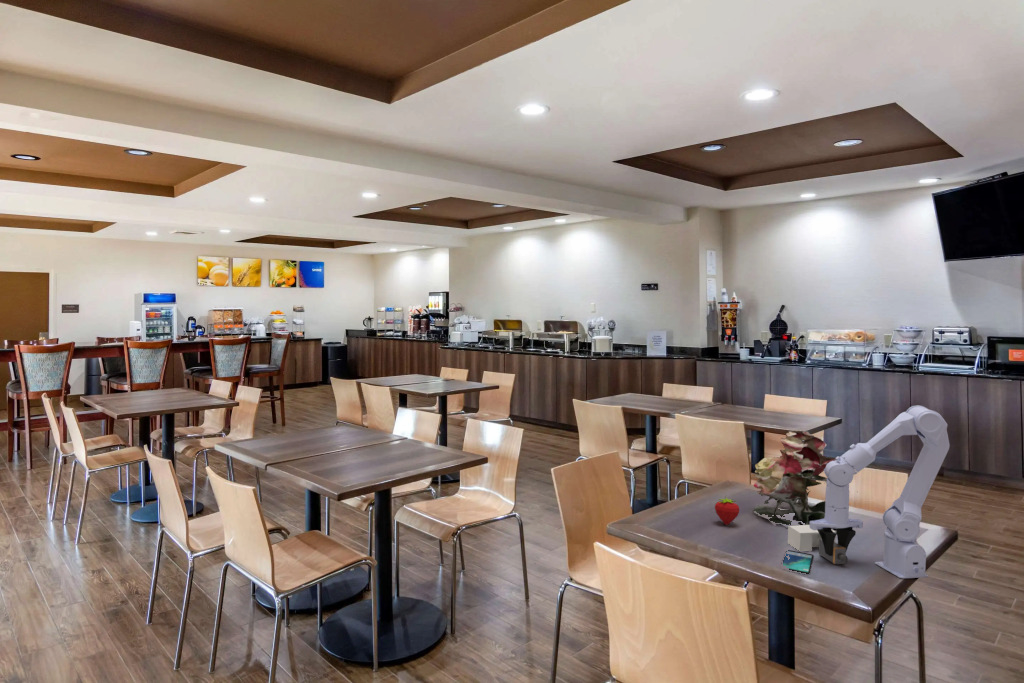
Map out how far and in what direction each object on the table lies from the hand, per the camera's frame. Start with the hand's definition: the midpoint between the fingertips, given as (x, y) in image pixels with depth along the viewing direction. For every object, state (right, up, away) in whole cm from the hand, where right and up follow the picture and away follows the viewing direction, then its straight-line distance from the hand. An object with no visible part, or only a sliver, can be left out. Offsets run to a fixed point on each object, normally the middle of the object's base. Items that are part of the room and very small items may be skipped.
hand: (835, 554), depth 167 cm
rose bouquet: (+5, -1, +34) cm, 35 cm away
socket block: (-1, -2, +11) cm, 11 cm away
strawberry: (-20, -1, +28) cm, 35 cm away
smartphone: (-10, -3, 0) cm, 11 cm away
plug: (0, -2, +1) cm, 3 cm away
